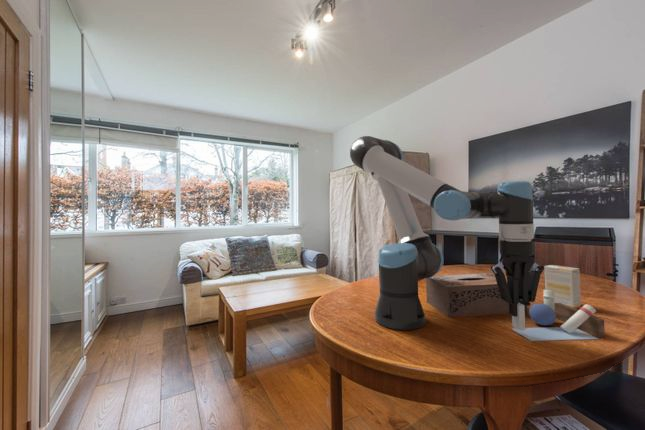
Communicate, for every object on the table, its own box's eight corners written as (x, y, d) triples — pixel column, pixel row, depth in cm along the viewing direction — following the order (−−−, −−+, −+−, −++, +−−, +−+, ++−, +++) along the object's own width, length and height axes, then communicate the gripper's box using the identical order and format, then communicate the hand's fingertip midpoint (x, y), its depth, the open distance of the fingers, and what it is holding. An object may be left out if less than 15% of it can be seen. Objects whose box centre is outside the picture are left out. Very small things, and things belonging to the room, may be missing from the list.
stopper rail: (598, 337, 68) (598, 319, 68) (555, 317, 81) (554, 302, 81) (604, 337, 68) (604, 319, 68) (559, 317, 81) (559, 302, 81)
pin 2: (566, 328, 70) (591, 305, 70) (558, 324, 72) (582, 302, 72) (572, 335, 70) (598, 313, 70) (564, 331, 72) (589, 309, 72)
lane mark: (530, 341, 68) (530, 340, 68) (511, 329, 75) (511, 328, 75) (598, 339, 68) (598, 338, 67) (572, 327, 74) (572, 326, 74)
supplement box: (582, 307, 89) (580, 268, 89) (573, 309, 87) (572, 269, 87) (553, 300, 97) (552, 264, 97) (544, 302, 95) (543, 265, 95)
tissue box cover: (492, 299, 101) (491, 272, 101) (524, 313, 86) (523, 282, 86) (426, 303, 99) (425, 276, 99) (448, 318, 84) (447, 286, 84)
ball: (566, 318, 74) (554, 315, 72) (548, 331, 77) (536, 328, 74) (547, 300, 79) (535, 297, 77) (531, 313, 82) (520, 310, 79)
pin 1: (548, 322, 77) (547, 291, 78) (541, 319, 80) (541, 289, 80) (557, 323, 77) (556, 291, 78) (550, 320, 80) (549, 289, 80)
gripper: (501, 242, 67) (503, 334, 67) (552, 240, 67) (555, 333, 67) (483, 239, 75) (485, 322, 75) (529, 237, 75) (532, 321, 75)
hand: (518, 327), depth 71 cm, fingers closed
